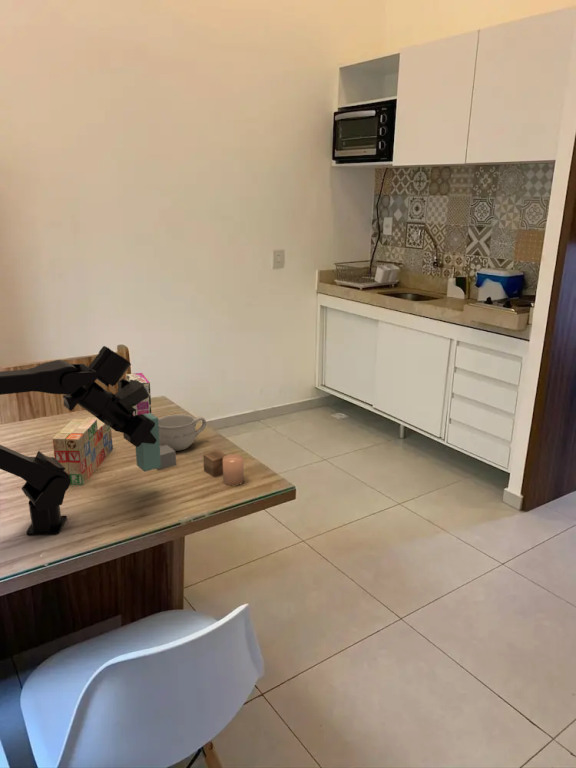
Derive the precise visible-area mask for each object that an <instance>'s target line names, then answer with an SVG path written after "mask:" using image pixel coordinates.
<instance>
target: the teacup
mask: <svg viewBox="0 0 576 768" xmlns="http://www.w3.org/2000/svg"><path fill="white" fill-rule="evenodd" d="M199 421H201V422H202V425H200V427H199V428H198V429H196V426H197V423H198V422H199ZM158 422H159V442H160V446H164V445H168V446H169V447H171V448H172V449H173V450H174V451H175V452H178V451H183V450H186V449H188V448H189V447H190V446H191V445H192V444H193V443H194V442H195V440H196V438H197V436H198V435H199V434H201V433H202V432H203V431H204V430H205V429H206V426H207V419H205V418H204V417H203V416H197V417H194V416H193V415H189V414H184V413H183V414H181V413H179V414H178V413H177V414H169V415H164V416H161V417H158Z"/></svg>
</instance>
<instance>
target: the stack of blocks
mask: <svg viewBox="0 0 576 768" xmlns="http://www.w3.org/2000/svg"><path fill="white" fill-rule="evenodd" d="M52 445H53V455H54V456H53V457H54V458H55V459H56V460H57V461H58V462H59V463H60V464H61V465H62V466H63V467H64V468H65V470H64V471H65V472H66V473H67V474H68V475H69V476H70V485H71V486H84V485H85V483H86V482H87V481H88V480H89V479H90V478H91V476H92V475H93V474H94V473H95V472H96V470H97V469H98V467H99V466H100V465H101V464H102V462H103V461H104V460H105V459H106V458H107V456H108V455H109V454H110V453H111V451H112V450H113V449H114V448H113V447H114V446H113V435H112V428H111V427H110V426H108V425H106V424H104V423H103V422H102V421H100V420H99V419H98V418H97V417H95V416H87V417H86V418H81V419H80V418H73V419H71V420H70V422H68V423H67V424H66V426H64V427H63V428H61V430H60V431H59V432H58V433H57V434H56V435H54V436H53V437H52ZM70 485H69V486H70Z"/></svg>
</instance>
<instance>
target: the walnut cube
mask: <svg viewBox="0 0 576 768" xmlns="http://www.w3.org/2000/svg"><path fill="white" fill-rule="evenodd" d="M226 455H227V454H226V453H224V452H223V451H221V450H219V449H218V450H215V451H211V452H207V453H205V454H203V455H202V456H203V457H202V459H203V471H204V472H205V473H207V474H208V475H210V476H211V477H213V478H215V477H218V476H221V475H223V457H224V456H226Z"/></svg>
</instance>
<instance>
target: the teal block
mask: <svg viewBox="0 0 576 768" xmlns="http://www.w3.org/2000/svg"><path fill="white" fill-rule="evenodd" d="M143 415H144V416H146V417H147V418H149V419H150V420H152V421H153V422H154V423H155V426H154V427H153V429H152V430H151V431H150V432H151V433H152V435H153V436H154V437H155V438H156V440H157V441H156V442H155V444H149V443H141V445H140V446H138V447H136V446H135V457H136V458H135V459H136V466H137V467H138V468H139V469H141V470H142V471H143V472H148V471H152V470H155V469H156V468H159V467H161V461H160V446H161V445H160V442H159V422H158V419H159V417H157V416H156V415H154V414H153V413H152V412H151V413H148V414H143ZM156 470H157V469H156Z"/></svg>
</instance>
